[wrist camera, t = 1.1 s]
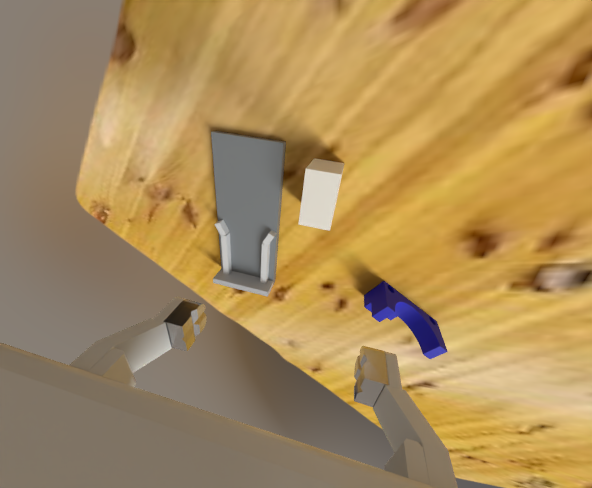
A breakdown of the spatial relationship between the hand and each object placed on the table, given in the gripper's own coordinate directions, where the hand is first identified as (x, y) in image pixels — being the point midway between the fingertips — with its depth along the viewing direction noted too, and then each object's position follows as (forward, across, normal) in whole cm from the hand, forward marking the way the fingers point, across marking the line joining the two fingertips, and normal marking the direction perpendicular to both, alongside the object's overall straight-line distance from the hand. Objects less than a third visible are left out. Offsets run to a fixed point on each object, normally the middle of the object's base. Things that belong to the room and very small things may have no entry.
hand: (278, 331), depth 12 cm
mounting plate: (+25, +12, +6) cm, 28 cm away
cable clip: (+26, -15, +18) cm, 35 cm away
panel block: (+25, +1, 0) cm, 25 cm away
